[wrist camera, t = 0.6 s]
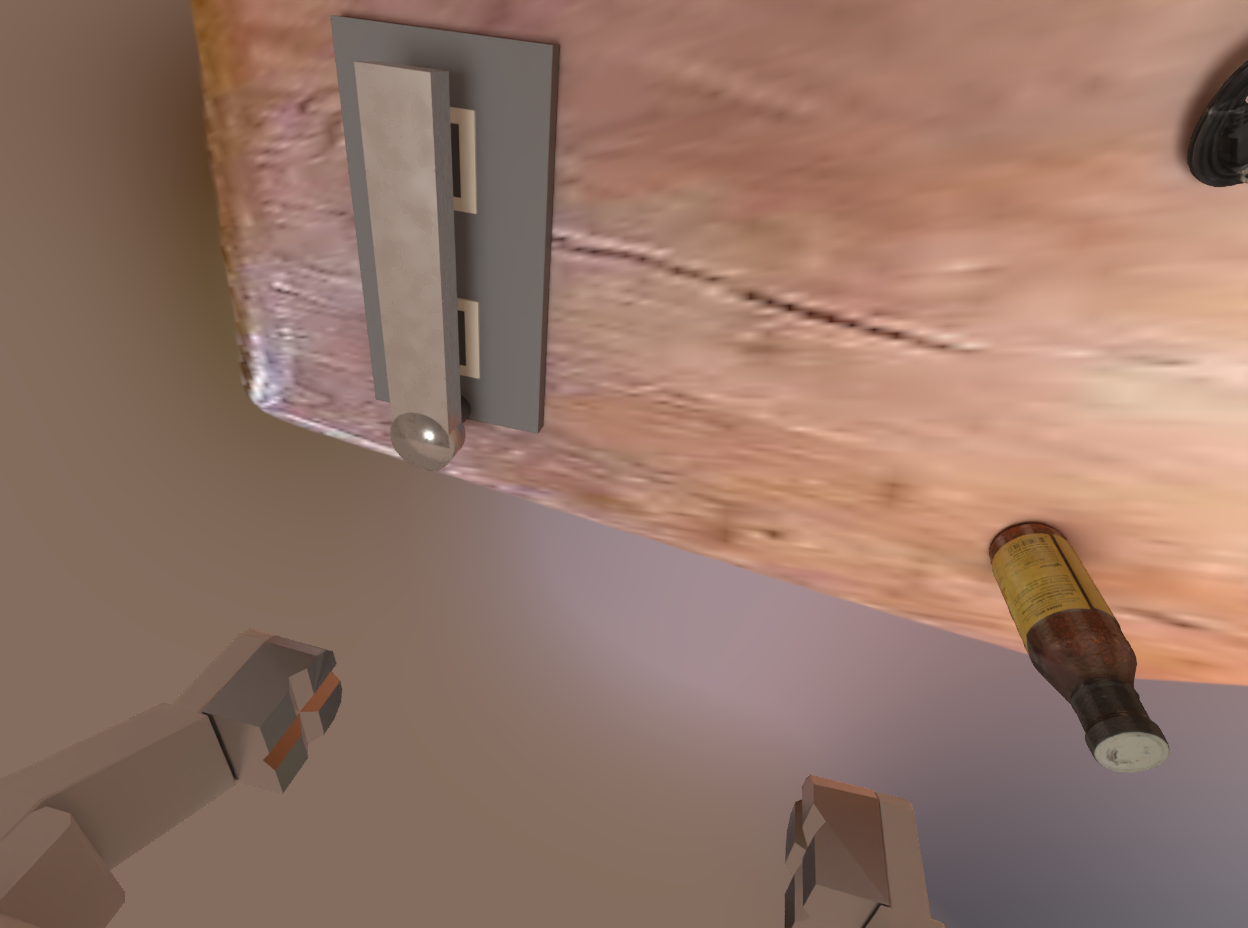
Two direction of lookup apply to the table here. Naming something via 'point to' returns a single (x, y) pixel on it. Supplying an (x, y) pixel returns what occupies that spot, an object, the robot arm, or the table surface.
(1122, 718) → the sauce bottle
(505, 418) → the label board
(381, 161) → the grey flat bar
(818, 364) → the table surface
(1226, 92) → the milk frother
